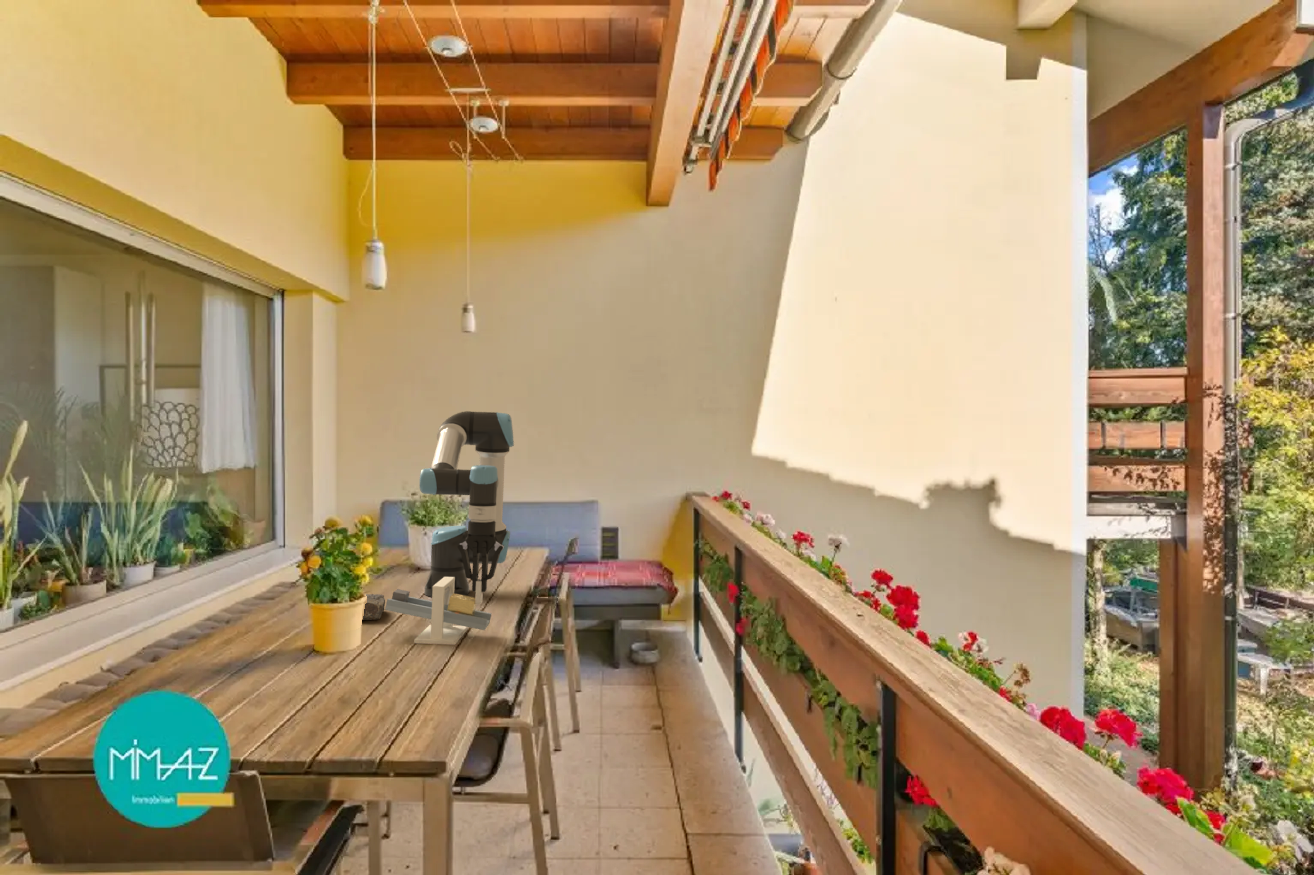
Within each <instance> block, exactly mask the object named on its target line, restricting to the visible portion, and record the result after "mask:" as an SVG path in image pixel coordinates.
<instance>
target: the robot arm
mask: <svg viewBox="0 0 1314 875" xmlns="http://www.w3.org/2000/svg"><path fill="white" fill-rule="evenodd" d="M513 431H514V429H513V421H512V416H511V415H510V414H508V413H505V412H504V413H503V412H498V411H469V410H466V411H460V412H457V413H455V414H453V415H451V416H449V417H448V418H447V419H445V420H444V421H443V422H442V423H441V424H440V426H439V428H438V429H437V433H436V439H437V444H436V447H435V451H434V455H433V459H432V462H431V465H430V467H429V468H422V469H421V471H420V474H419V490H420V493H421V494H424V495H432V496H436V495H437V496H438V495H441V496H443V495H444V496H445V495H447V496H448V495H449V496H451V495H452V496H469V501H468V519H469V521H468V524H467V526H466V525H453V526H446V527H445V526H444V527H441V528H437V529H436V530H434V531H433V532H432V536H431V543H430V546H431V551H430V552H431V554H430V556H431V557H430V572H429V574H428V578H427V580H426V582H425V585H424V591H423V592H424V595H425V596H428V597H431V598H432V591H433V590H432V588H433V586H434V585H435V584H436V583H437V582H439V581H440V580H441V579H442V578H444V577H455V585H454V594H459V595H464V596H468V594H469V593H470V584H469V581H468V579H470V580H471V582H472V584H471V585H472V586H471V590H472V592H475V597H474V598H475V604H476V605H482V603H483V599H484V598H483V597H484V596H483V594H484V593H486V592H487V588H488V580H491V579H493V577H495V573H496V569H497V566H498V564H503V563H505V561H506V559H507V555H508V549H509V544H510V543H509V542H510V537H511V531H510V530H508V529H507V525H506V524H505V523H504V522H503V515H504V514H503V513H504V512H503V508H504V487H505V486H504V483H505V464H506V463H505V462H506V460H505V457H506V456H507V455H508V454H509V453H510V448H512V447H514V445H515V444H514V443H515V442H514V432H513ZM464 445H465V446H466V445H467V446H475V447H474V450H475V452H476V453H477V454H478V455H479V464H478V465H477V464H476V465H472V466H471V468H470V469H459V468H458V466H459V461H460V456H461V451H462V447H463V446H464ZM471 564H472V567H471ZM489 564H491V565H490V567H489ZM480 565H481V575H480V576H481V577H480V578H479V569H480V568H479V567H480Z"/></svg>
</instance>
